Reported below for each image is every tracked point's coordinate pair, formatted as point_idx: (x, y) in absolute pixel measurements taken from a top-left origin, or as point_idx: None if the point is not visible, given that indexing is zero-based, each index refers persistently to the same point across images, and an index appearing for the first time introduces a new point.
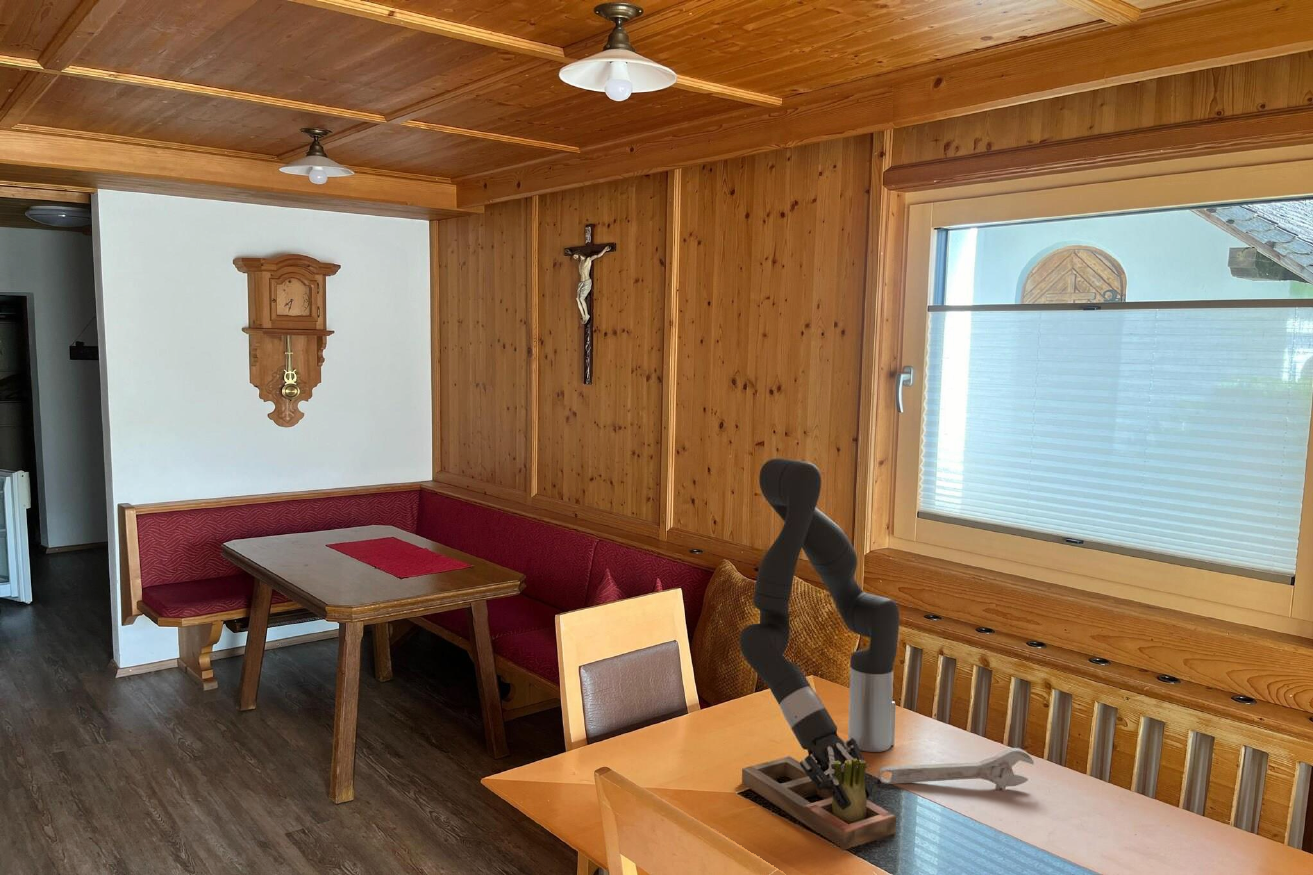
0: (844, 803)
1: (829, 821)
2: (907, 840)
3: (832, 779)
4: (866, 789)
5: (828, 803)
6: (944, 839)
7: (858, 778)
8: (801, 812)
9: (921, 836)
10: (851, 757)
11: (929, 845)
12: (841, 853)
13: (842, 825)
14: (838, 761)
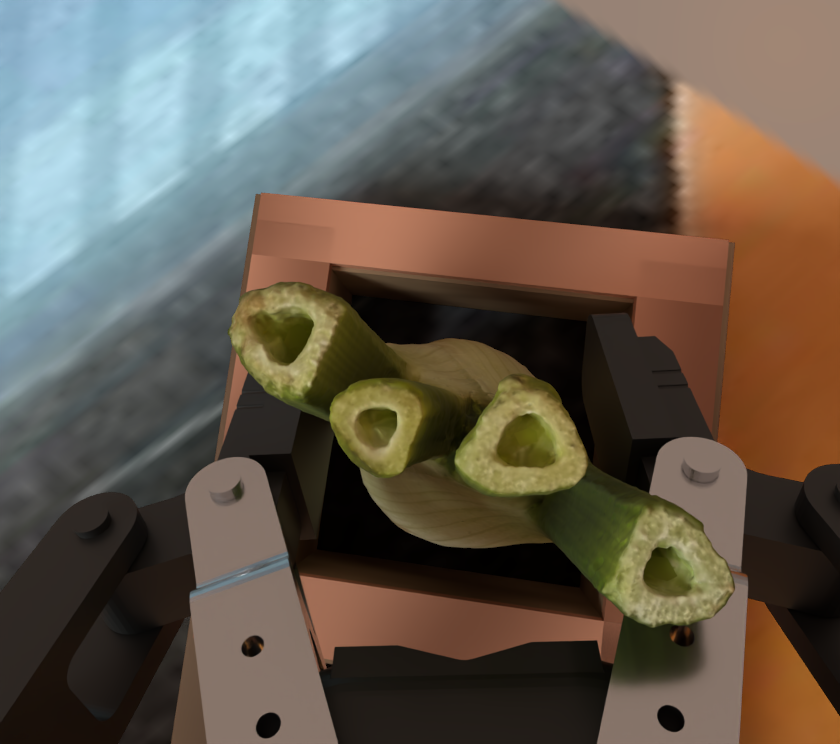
0: (653, 338)
1: (712, 417)
2: (301, 139)
3: (742, 503)
4: None
5: (504, 615)
6: (132, 33)
7: (398, 365)
8: None
9: (201, 124)
10: (205, 639)
11: (251, 37)
12: (736, 259)
13: (685, 312)
14: (633, 584)
